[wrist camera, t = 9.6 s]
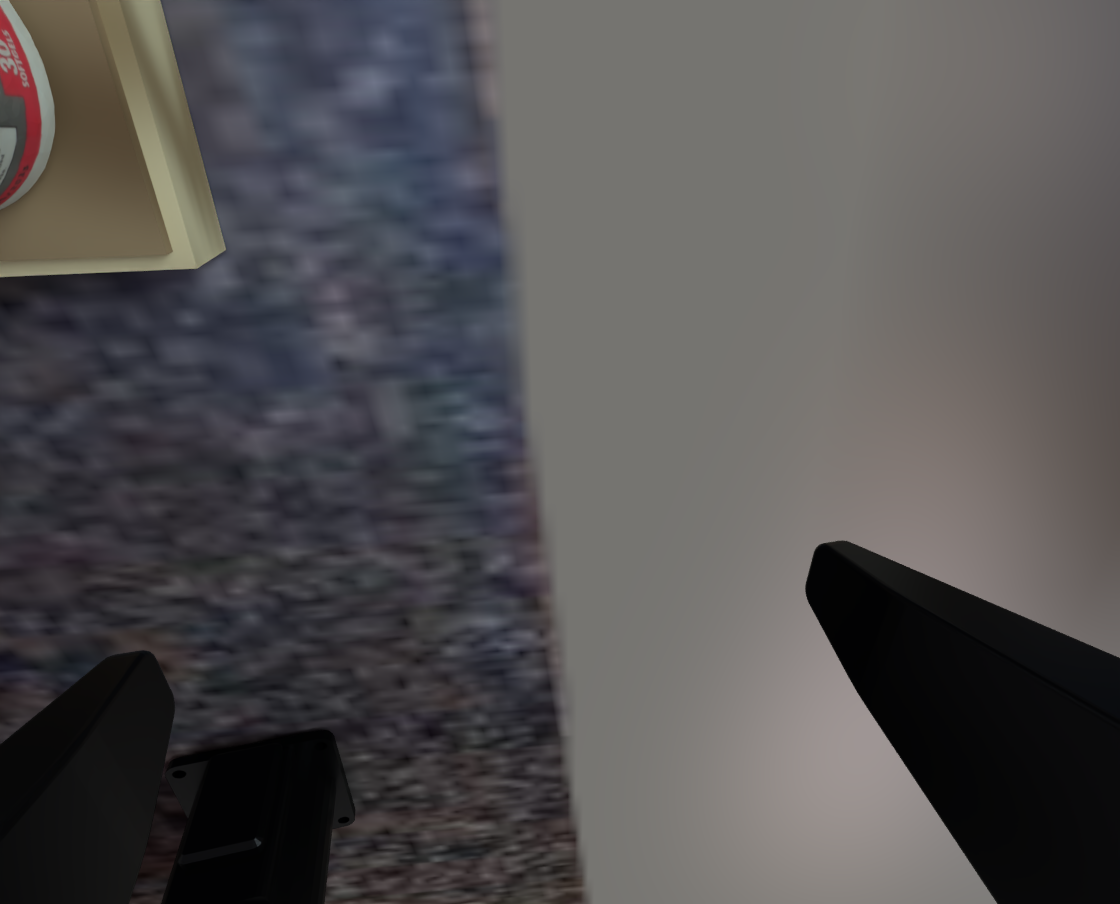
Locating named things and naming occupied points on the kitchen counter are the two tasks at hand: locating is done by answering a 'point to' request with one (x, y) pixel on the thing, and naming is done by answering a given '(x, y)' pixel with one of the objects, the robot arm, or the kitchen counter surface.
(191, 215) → the plinth
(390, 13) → the kitchen counter surface
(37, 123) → the pill bottle
